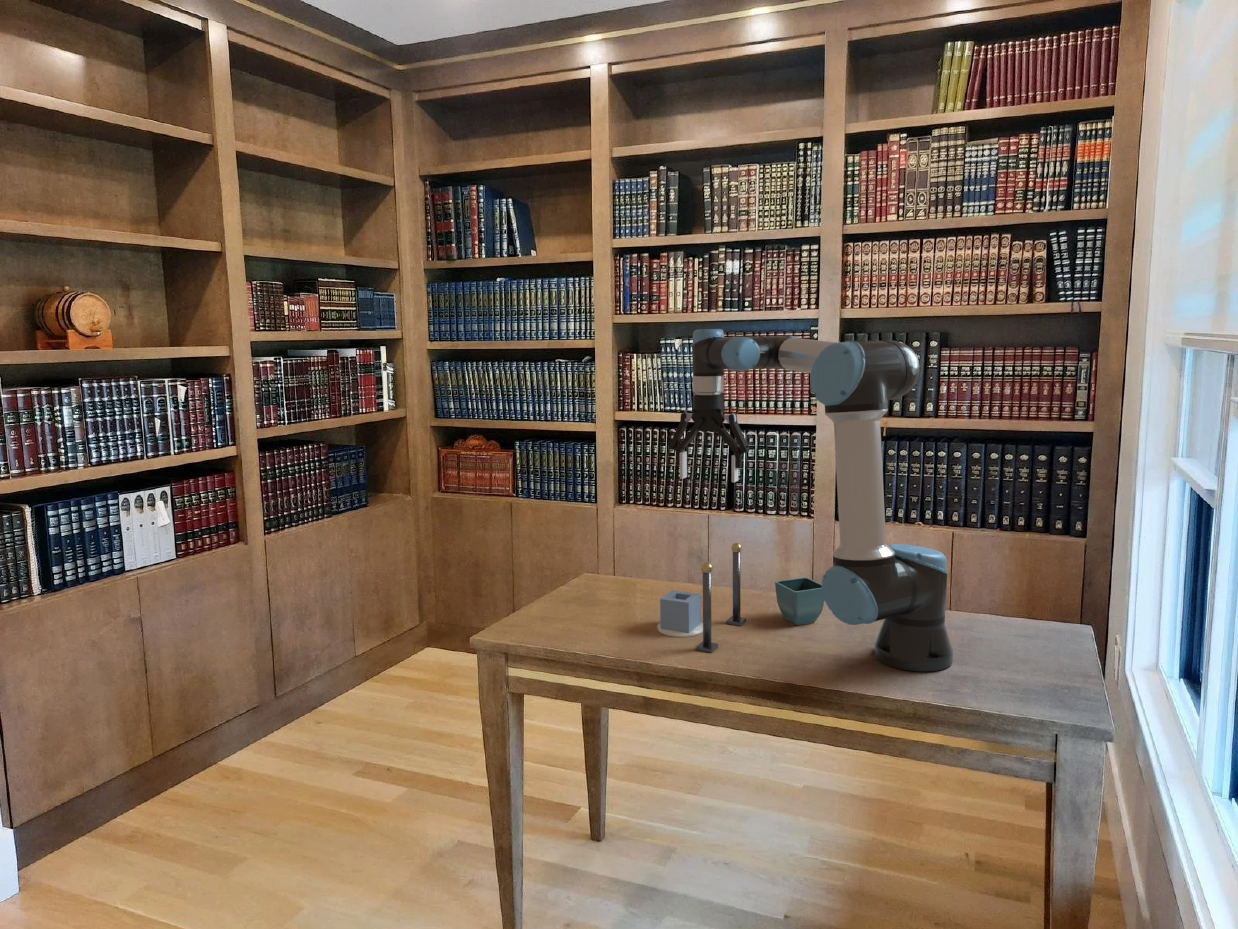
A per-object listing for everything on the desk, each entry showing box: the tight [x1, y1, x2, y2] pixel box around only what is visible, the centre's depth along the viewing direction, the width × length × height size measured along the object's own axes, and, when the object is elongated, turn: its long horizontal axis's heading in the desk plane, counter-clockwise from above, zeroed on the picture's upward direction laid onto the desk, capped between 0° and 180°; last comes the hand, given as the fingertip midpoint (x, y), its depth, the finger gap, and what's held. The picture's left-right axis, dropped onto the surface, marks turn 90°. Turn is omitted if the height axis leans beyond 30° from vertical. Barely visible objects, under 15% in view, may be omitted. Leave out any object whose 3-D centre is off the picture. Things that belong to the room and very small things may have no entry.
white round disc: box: [656, 621, 703, 638], centre depth 194 cm, size 11×11×1 cm
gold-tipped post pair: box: [695, 542, 748, 654], centre depth 188 cm, size 4×22×19 cm, turn 152°
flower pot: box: [774, 576, 826, 626], centre depth 196 cm, size 9×9×9 cm
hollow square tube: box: [659, 590, 702, 633], centre depth 193 cm, size 7×7×7 cm
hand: (708, 479), depth 209 cm, fingers open, 13 cm apart
